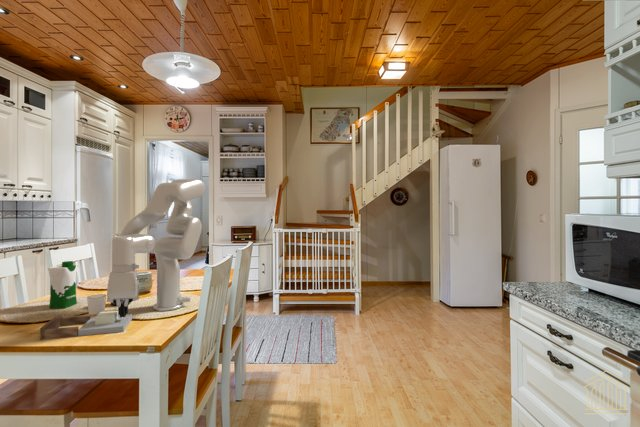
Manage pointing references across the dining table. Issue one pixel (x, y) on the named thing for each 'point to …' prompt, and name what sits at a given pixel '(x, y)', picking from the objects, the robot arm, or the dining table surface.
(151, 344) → the dining table surface
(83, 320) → the box
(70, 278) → the milk carton
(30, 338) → the dining table surface
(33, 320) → the dining table surface
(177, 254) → the robot arm
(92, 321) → the plate
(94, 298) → the white cup
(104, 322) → the off-white flat block
